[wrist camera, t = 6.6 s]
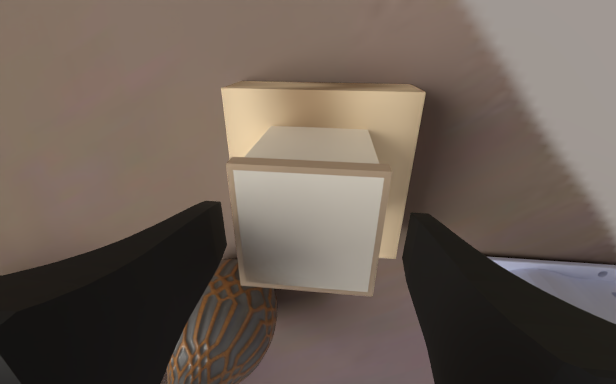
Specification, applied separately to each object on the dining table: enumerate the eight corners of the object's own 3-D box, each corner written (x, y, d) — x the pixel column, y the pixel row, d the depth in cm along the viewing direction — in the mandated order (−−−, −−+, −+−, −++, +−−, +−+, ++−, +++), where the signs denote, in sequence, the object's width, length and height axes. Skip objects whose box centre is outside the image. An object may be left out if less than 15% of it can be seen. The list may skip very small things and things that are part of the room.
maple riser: (410, 84, 15) (425, 92, 12) (387, 229, 19) (395, 258, 16) (241, 81, 16) (221, 88, 13) (254, 221, 20) (240, 248, 17)
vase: (195, 236, 21) (109, 348, 13) (289, 252, 21) (258, 376, 13) (198, 303, 24) (131, 425, 16) (280, 317, 24) (251, 448, 16)
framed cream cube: (372, 125, 13) (392, 171, 8) (362, 217, 15) (372, 296, 10) (267, 121, 14) (225, 163, 9) (271, 211, 16) (240, 285, 11)
